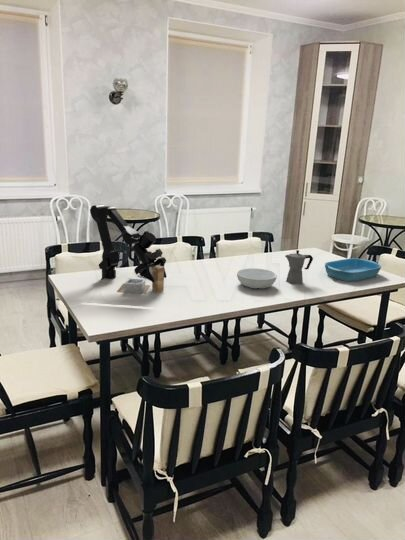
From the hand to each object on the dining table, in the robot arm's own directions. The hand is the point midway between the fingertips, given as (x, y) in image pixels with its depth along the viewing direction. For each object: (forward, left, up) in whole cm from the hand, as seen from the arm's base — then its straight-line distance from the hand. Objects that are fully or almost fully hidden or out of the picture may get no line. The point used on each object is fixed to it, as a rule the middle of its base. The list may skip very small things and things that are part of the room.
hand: (160, 279), depth 215 cm
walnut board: (-13, +1, -7) cm, 15 cm away
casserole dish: (+106, +54, -7) cm, 120 cm away
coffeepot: (+71, +34, -7) cm, 79 cm away
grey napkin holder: (-10, +31, -7) cm, 33 cm away
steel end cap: (-12, -1, -6) cm, 13 cm away
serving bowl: (+48, +22, -7) cm, 53 cm away
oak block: (-1, +1, -7) cm, 7 cm away
